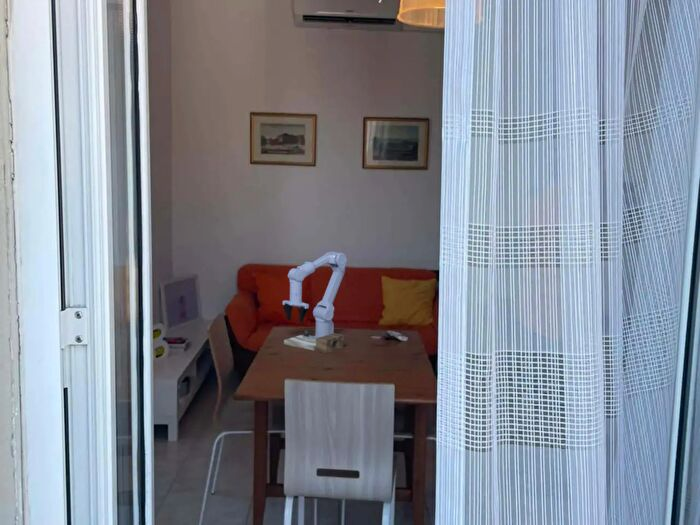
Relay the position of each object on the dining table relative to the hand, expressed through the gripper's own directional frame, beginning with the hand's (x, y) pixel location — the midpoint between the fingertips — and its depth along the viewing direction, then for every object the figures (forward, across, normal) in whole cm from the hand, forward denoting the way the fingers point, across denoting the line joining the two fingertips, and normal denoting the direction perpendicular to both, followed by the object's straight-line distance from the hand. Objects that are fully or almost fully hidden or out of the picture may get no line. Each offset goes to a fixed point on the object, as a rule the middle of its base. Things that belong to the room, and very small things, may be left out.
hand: (295, 321), depth 293 cm
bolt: (+8, +11, 0) cm, 13 cm away
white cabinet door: (+10, +11, 0) cm, 15 cm away
